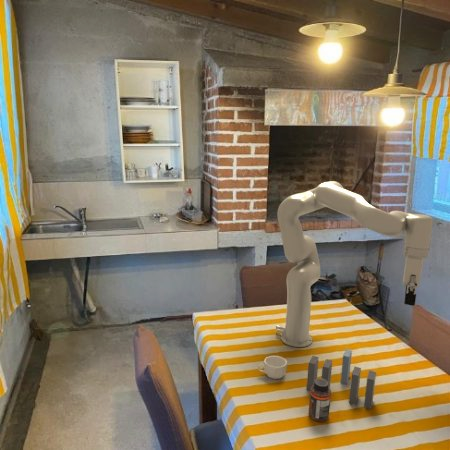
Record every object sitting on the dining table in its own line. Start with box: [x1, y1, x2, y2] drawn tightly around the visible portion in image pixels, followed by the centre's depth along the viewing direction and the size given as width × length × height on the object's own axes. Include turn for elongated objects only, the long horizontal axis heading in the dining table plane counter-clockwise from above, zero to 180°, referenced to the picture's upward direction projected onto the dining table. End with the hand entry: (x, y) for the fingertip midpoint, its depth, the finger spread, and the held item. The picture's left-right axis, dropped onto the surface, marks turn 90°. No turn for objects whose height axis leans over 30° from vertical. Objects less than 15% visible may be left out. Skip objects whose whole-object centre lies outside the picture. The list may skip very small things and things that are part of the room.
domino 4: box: [348, 366, 362, 406], centre depth 127 cm, size 2×5×10 cm, turn 153°
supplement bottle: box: [308, 377, 332, 423], centre depth 119 cm, size 6×6×11 cm
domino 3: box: [340, 348, 353, 385], centre depth 138 cm, size 2×5×10 cm, turn 153°
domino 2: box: [321, 358, 333, 390], centre depth 131 cm, size 2×5×10 cm, turn 153°
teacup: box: [257, 355, 288, 380], centre depth 140 cm, size 10×8×5 cm
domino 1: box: [306, 355, 320, 392], centre depth 133 cm, size 2×5×10 cm, turn 153°
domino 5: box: [363, 370, 377, 410], centre depth 125 cm, size 2×5×10 cm, turn 153°
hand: (409, 299), depth 138 cm, fingers open, 9 cm apart
